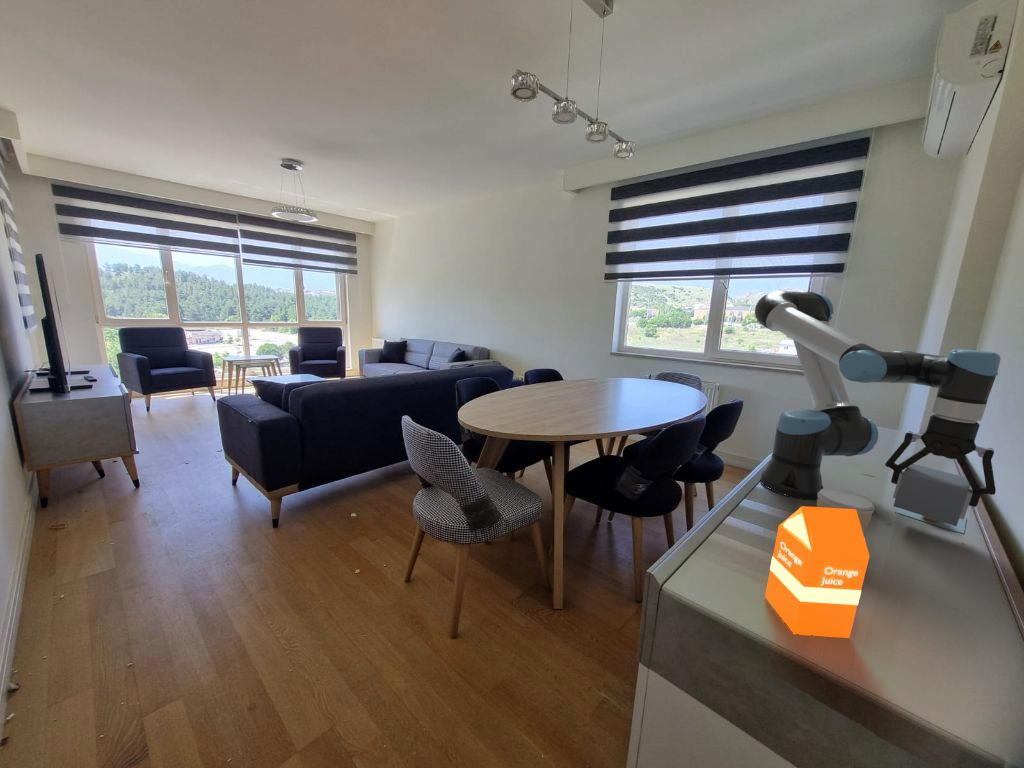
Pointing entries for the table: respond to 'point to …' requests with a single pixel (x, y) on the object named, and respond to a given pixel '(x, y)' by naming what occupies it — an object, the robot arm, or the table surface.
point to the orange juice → (818, 571)
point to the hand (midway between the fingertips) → (927, 506)
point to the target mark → (958, 528)
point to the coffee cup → (847, 504)
